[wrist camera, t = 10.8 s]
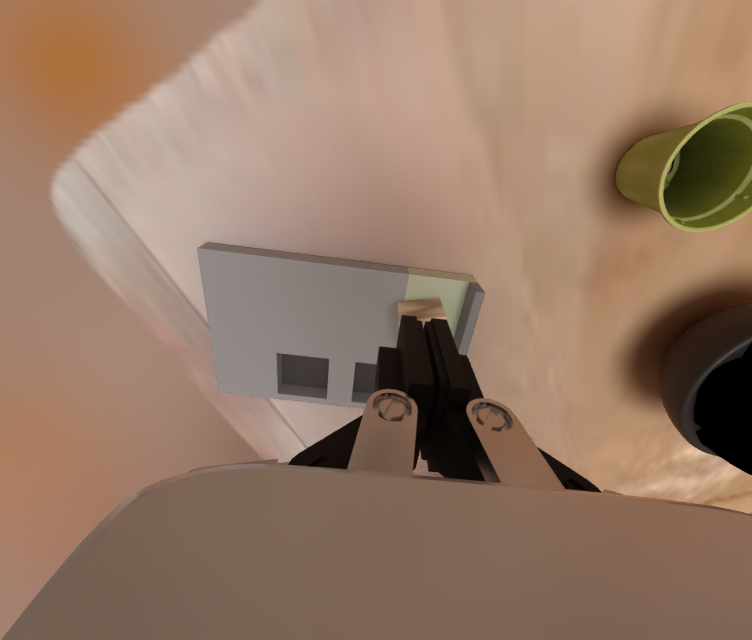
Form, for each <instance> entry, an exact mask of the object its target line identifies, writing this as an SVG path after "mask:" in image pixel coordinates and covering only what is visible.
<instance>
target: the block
mask: <svg viewBox="0 0 752 640" xmlns="http://www.w3.org/2000/svg"><path fill="white" fill-rule="evenodd" d="M397 305H398V319H399V327H400V320H401V316H402V315H408V316H416V317H417V320H420V321H422V324H423V329H424V324H425V321H430V320H431V318H437V319H446V320H447V317H446V314H445V311H444V308H443V306H442V303H441V300H440V297H437V298H427V299H416V300H406V301H397Z"/></svg>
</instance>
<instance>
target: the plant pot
mask: <svg viewBox="0 0 752 640" xmlns="http://www.w3.org/2000/svg"><path fill="white" fill-rule="evenodd" d="M673 159H674V164H673V168H672V170H671V172H670V173H667V172H668V170H669V167H670V165H671V163H672V161H673ZM615 180H616V186H617V188H618V190H619V191H620V192H621V194H622V195H623V196H624V197H626V198H628V199H630V200H632V201H635V202H637V203H640V204H642V205H644V206H647V207H649V208H651V209H653V210H656V211H658V212H659V213H660V214H661V215H662V216H663V218H664V219H665V220H666V221H667V222H668V223H669V224H670V225H672V226H673V227H675V228H678V229H681V230H684V231H688V232H705V231H710V230H714V229H718V228H721V227H724V226H726V225H728V224H730V223H732V222H735V221H737V220H738V219H740V218H742V217H743V216H745V215H746V214H748V213H749V212H750V211H752V101H751V102H744V103H740V104H736V105H733V106H730V107H727V108H725V109H722V110H720V111H718V112H716V113H714V114H712V115H710V116H709V117H707V118H705V119H704V120H702V121H700V122H698V123H696V124H692V125H688V126H685V127H681V128H678V129H674V130H670V131H666V132H662V133H658V134H655V135H651V136H648V137H646V138H643V139H641V140H640V141H638V142H637V143H636V144H635V145H634V146H633V147H632V148H631V149H630V150H629V151H628V152H627V153H626V154H625V155H624V156H623V157H622V159H621V161H620V163H619V165H618V167H617V171H616V178H615Z"/></svg>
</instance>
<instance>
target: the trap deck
mask: <svg viewBox="0 0 752 640" xmlns="http://www.w3.org/2000/svg"><path fill="white" fill-rule="evenodd" d="M197 250H198V257H199V264H200V271H201V278H202V284H203V291H204V298H205V305H206V311H207V318H208V325H209V332H210V339H211V345H212V352H213V359H214V366H215V373H216V379H217V386H218V392H220V393H229V394H238V395H247V396H256V397H265V398H274V399H283V400H292V401H301V402H310V403H319V404H328V405H338V406H347V407H356V408H365V407H366V404H367V401H368V399H369V397H370V396H371V395H372V394H373V393H374V388H375V374H376V365H377V357H378V350H379V346H383V347H392V348H396V345H397V339H398V333H399V319H398V305H397V301H406V300H416V299H427V298H437V297H440V300H441V303H442V306H443V308H444V311H445V314H446V317H447V322H448V325H449V327H450V330H451V333H452V336H453V338H454V341H455V344H456V347H457V350H458V352H459V354H461V355H466V354H467V351H468V347H469V344H470V341H471V338H472V334H473V331H474V328H475V324H476V321H477V318H478V315H479V311H480V308H481V305H482V301H483V298H484V295H485V292H484V291H483V289H482V288H481V287H480V285H479V284H478V282H477V281H476V279H475V278H474V277H473V275H465V274H457V273H449V272H441V271H433V270H425V269H417V268H409V267H401V266H393V265H385V264H377V263H369V262H361V261H353V260H345V259H337V258H329V257H321V256H313V255H305V254H297V253H289V252H281V251H273V250H265V249H257V248H249V247H241V246H233V245H225V244H217V243H206V244H204V245H202V246H200V247H198V248H197Z"/></svg>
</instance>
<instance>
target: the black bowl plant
mask: <svg viewBox="0 0 752 640" xmlns="http://www.w3.org/2000/svg"><path fill="white" fill-rule="evenodd" d="M659 385H660V393H661V398H662V401H663V405H664V407H665V409H666V412H667V414H668V416H669V418H670V419H671V421H672V423H673V424H674V426H675V427H676V428H677V430H678V431H679V432H680V434H681V435H682V436H683V437H684V438H685V439H686V440H687V441H688V442H689V443H690V444H691V445H693V446H694V447H696V448H697V449H699V450H701V451H703V452H706V453H708V454H711V455H715V456H719V457H721V458H723V459H724V460H726V461H727V462H729V463H730V464H732V465H733V466H735V467H737V468H739V469H741V470H742V471H744V472H746V473H748V474H750V475H752V303H750V304H745V305H740V306H737V307H733V308H730V309H727V310H724V311H721V312H718V313H716V314H713V315H711V316H709V317H707V318H705V319H703V320H701V321H699V322H698V323H696V324H695V325H693V326H692V327H690V328H689V329H688V330H686V331H685V332H684V333H683V334H682V335H681V336H680V337H679V338H678V339H677V340H676V341H675V342H674V343H673V345H672V346H671V347H670V349H669V350H668V352H667V354H666V356H665V358H664V360H663V363H662V367H661V371H660V381H659Z"/></svg>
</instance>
